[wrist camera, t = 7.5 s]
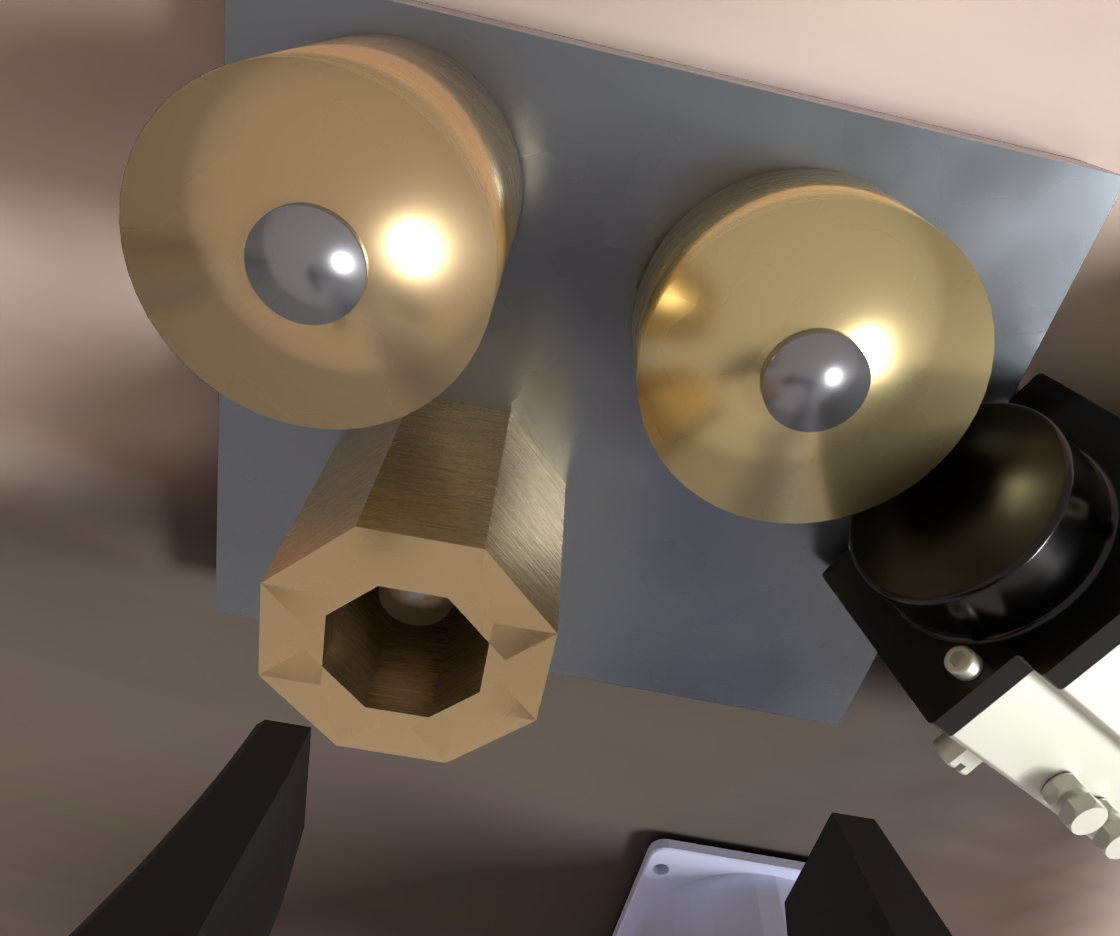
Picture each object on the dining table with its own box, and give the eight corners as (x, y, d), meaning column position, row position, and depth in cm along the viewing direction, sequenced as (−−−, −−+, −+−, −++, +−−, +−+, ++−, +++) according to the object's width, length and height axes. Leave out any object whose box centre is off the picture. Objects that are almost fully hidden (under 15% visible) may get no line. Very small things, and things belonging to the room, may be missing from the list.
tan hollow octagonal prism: (537, 607, 21) (522, 774, 16) (329, 570, 20) (256, 732, 16) (578, 424, 18) (574, 565, 14) (342, 380, 18) (262, 510, 13)
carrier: (825, 684, 24) (902, 916, 18) (237, 574, 22) (112, 784, 16) (1085, 162, 17) (1350, 260, 11) (256, -38, 15) (53, -47, 10)
